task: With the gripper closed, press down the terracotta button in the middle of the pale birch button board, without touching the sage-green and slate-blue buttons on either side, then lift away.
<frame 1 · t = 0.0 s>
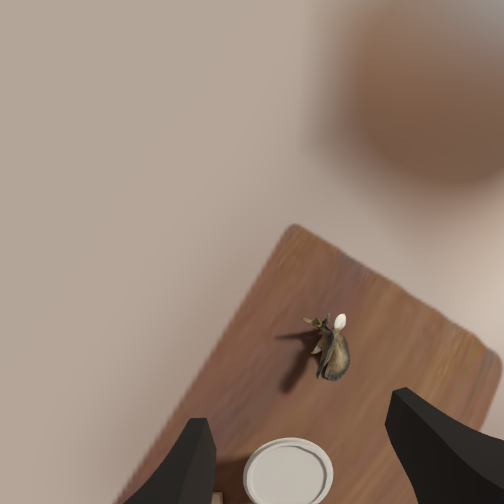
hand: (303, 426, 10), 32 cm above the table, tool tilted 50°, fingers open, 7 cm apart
eagle figurine: (325, 352, 43), on the table
disposable coffee cup: (284, 466, 33), on the table
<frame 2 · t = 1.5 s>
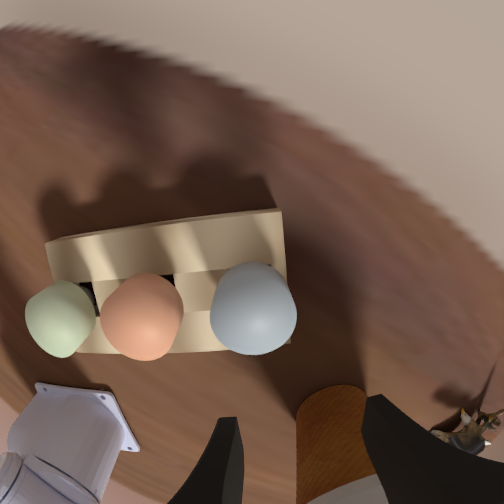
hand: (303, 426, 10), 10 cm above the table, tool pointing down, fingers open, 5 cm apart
button board: (165, 283, 19), on the table
eagle figurine: (455, 420, 24), on the table
slate button: (252, 299, 15), point 4 cm above the table, slide at 0.0 cm
disposable coffee cup: (331, 410, 22), on the table
terracotta button: (148, 308, 15), point 4 cm above the table, slide at 0.0 cm
sage button: (67, 311, 15), point 4 cm above the table, slide at 0.0 cm
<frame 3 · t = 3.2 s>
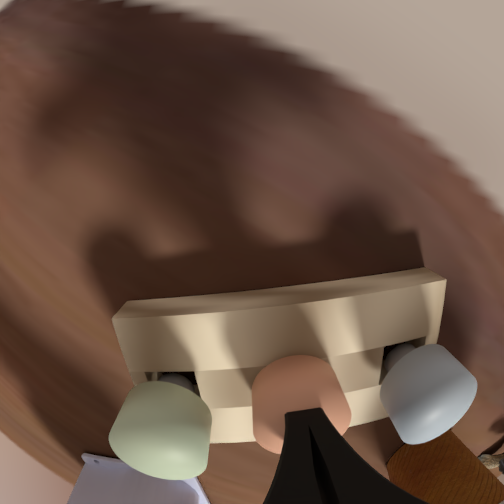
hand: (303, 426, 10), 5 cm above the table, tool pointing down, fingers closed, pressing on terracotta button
button board: (288, 359, 14), on the table
eagle figurine: (499, 442, 20), on the table
slate button: (419, 382, 11), point 4 cm above the table, slide at 0.0 cm
disposable coffee cup: (418, 450, 18), on the table
terracotta button: (295, 393, 12), point 3 cm above the table, slide at 1.1 cm, touching gripper
sage button: (166, 417, 11), point 4 cm above the table, slide at 0.0 cm
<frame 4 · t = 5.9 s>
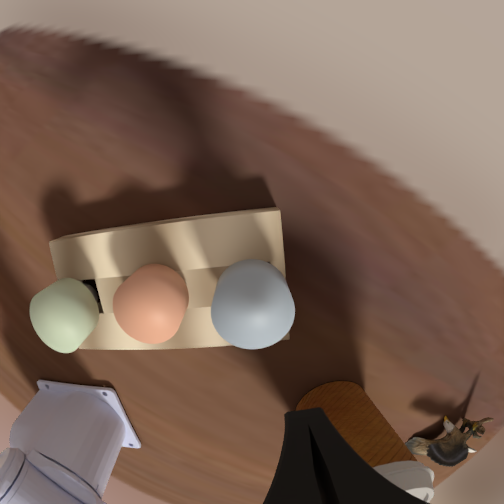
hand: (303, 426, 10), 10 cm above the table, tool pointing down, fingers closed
button board: (167, 281, 19), on the table
eagle figurine: (438, 427, 25), on the table
slate button: (252, 295, 15), point 4 cm above the table, slide at 0.0 cm
disposable coffee cup: (330, 406, 22), on the table
terracotta button: (156, 296, 16), point 3 cm above the table, slide at 1.1 cm
sage button: (71, 308, 15), point 4 cm above the table, slide at 0.0 cm
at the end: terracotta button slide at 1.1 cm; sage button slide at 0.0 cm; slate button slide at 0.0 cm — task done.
